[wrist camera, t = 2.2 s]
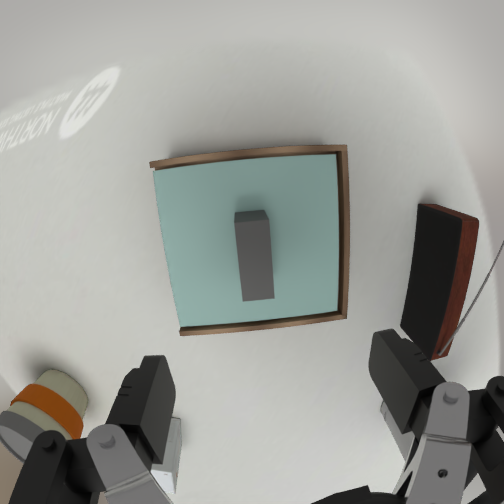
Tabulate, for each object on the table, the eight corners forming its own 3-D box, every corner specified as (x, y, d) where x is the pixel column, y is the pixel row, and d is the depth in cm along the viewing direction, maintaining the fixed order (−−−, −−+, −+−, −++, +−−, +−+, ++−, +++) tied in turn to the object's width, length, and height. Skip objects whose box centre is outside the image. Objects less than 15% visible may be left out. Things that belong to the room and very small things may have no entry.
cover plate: (332, 154, 24) (353, 154, 19) (334, 305, 28) (350, 333, 24) (156, 170, 24) (137, 174, 19) (181, 321, 28) (172, 351, 23)
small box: (145, 412, 39) (131, 464, 29) (181, 418, 39) (172, 472, 29) (150, 439, 41) (139, 487, 31) (182, 445, 42) (175, 494, 32)
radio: (417, 322, 36) (476, 389, 22) (399, 326, 36) (457, 397, 22) (437, 187, 30) (529, 213, 16) (418, 186, 30) (512, 212, 16)
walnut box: (325, 146, 28) (346, 144, 22) (329, 290, 33) (346, 318, 27) (167, 160, 28) (149, 162, 22) (189, 304, 33) (180, 335, 27)
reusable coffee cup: (57, 350, 35) (8, 418, 21) (112, 407, 38) (84, 480, 24) (24, 372, 36) (-17, 428, 22) (72, 421, 40) (44, 480, 26)
